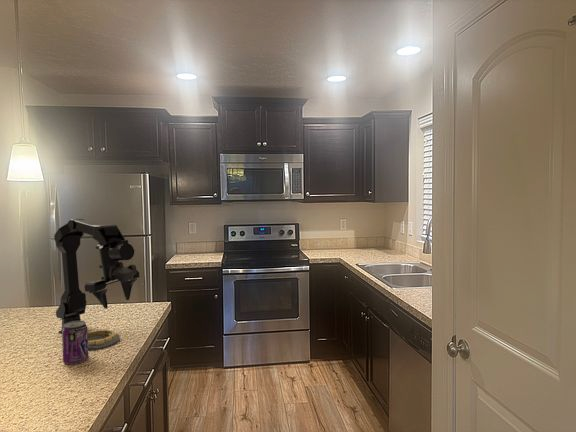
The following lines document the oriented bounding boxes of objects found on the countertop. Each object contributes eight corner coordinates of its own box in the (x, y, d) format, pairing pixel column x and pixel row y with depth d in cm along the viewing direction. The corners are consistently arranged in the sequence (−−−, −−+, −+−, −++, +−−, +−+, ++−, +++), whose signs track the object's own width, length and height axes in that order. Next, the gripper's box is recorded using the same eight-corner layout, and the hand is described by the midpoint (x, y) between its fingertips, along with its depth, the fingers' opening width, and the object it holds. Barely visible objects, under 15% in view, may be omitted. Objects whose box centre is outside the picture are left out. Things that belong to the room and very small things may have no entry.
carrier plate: (62, 347, 134) (62, 339, 134) (98, 332, 148) (98, 326, 148) (94, 353, 129) (94, 345, 128) (128, 337, 142) (128, 331, 142)
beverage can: (77, 366, 119) (76, 328, 118) (57, 364, 120) (56, 326, 119) (93, 357, 125) (92, 320, 125) (74, 355, 127) (73, 319, 126)
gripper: (102, 266, 123) (110, 313, 124) (147, 254, 140) (153, 296, 141) (80, 267, 128) (87, 312, 129) (125, 255, 145) (132, 296, 146)
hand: (117, 304), depth 136 cm, fingers open, 9 cm apart
